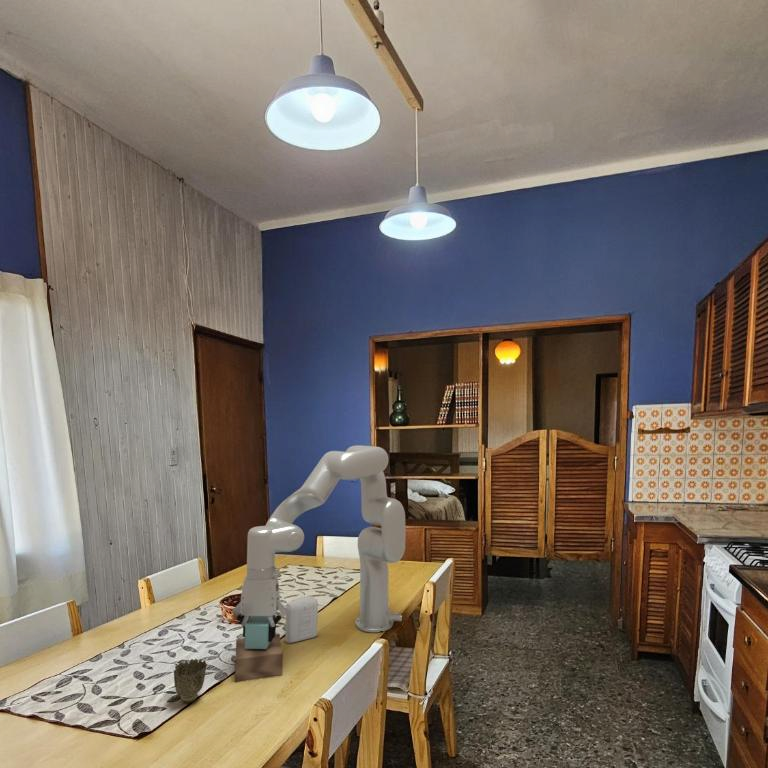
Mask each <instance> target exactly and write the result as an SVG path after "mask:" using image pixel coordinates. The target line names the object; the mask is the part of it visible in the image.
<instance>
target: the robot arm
mask: <svg viewBox="0 0 768 768" xmlns="http://www.w3.org/2000/svg"><path fill="white" fill-rule="evenodd" d="M388 464H389V455H388V453H387V451H386V450H385V449H384V448H382V447H380V446H373V445H372V446H371V445H352V446H349V447H348V448H347V449H346V450H345V451H339V450H331V451H328V452H326V453H325V454H324V455H323V456H322V457H321V458H320V460H319V461H318V463H317V464H316V465H315V467H314V468H313V470H312V471H311V473H310V474H309V476H308V477H307V478H306V480H305V481H304V483H303V485H302V486H300V488H299V489H297V490H296V491H295V492H293V493H292V494H291V495H289V496H287V498H286V499H284V500H283V501H282V502H281V503H280V504H279V505H278V506H277V507H276V508H275V510H274V512H273V513H271V515H270V517H269V519H268V520H267V522H266V524H265V525H260V526H259V525H258V526H254V527H252V528H250V529H249V530H248V532H247V548H246V549H247V551H246V552H247V554H246V576H245V577H244V578H243V579H244V580H243V582H242V583H243V584H242V588H241V595H240V602H238V604H237V605H236V606H235V607H234V608H232V611H231V613H232V615H234V617H236V619H237V620H238V621H239V623H240V624H241V626H242V628H243V629H242V637H243V638H244V641H245V625H246V624H247V623H248V621H249V620H250V619H251V618H252V616H259V617H268V620H269V623H270V627H269V639H268V641H269V642H271V641H272V640H273V638H274V637H275V635H276V634H277V631H276V629H277V624H278V623H279V622H280V621H281V620H282V619H283V617H284V616H285V617H286V614H287V612H288V610H287V609H286V607H285V605H284V604H283V603H282V602H281V597H280V584H279V578H278V575H279V574H280V573H281V572H280V571H281V570H280V568H278V567H276V564H275V561H276V559H275V557H276V555H275V554H276V553H289V552H290V553H291V552H293V551H297V550H298V549H300V548H301V546H303V543H304V540H305V534H304V531H303V529H302V528H300V527H299V526H298V525H296V524H293V523H294V521H295V520H296V519H297V518H298V517H300V516H301V515H302V514H303V513H305V512H307V511H309V510H311V509H315V508H317V507H319V506H321V505H324V504H325V503H326V501H327V500H328V498H329V496H330V495H331V494H332V492H333V490H334V489H335V487H336V486H337V484H338V482H339V481H340V480H345V481H353V480H358V479H359V480H360V487H361V515H362V516H361V517H362V519H363V520H364V521H365V522H366V523H369V524H371V525H375V526H369V527H365V528H364V529H362V530H361V532H360V533H359V534H358V538H357V551H358V557H359V564H360V565H359V566H360V567H359V569H360V570H359V572H360V573H359V575H360V576H359V577H360V578H359V616H358V617H356V619H355V620H354V621H355V622H354V625H355V628H357V629H358V630H360V631H362V632H365V633H381V632H380V631H383V632H386V631H388V630H390V629H391V628H392V627H394V621H395V622H402V621H403V614H399V612H392V611H391V610H390V607H389V564H390V563H391V564H394V563H395V564H396V563H398V562H399V561H400V560H401V559H402V558H403V556H404V554H405V551H406V512H405V509H404V506H403V504H402V503H401V501H399V500H397V499H396V498H392V497H388V494H387V493H388V492H387V481H386V476H385V473H384V471H385V469H387V467H388ZM376 526H379V527H376ZM277 574H278V575H277ZM278 610H279V612H280V613H279V614H278V615H277V616H276V614H277V611H278Z"/></svg>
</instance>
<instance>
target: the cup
mask: <svg viewBox="0 0 768 768" xmlns="http://www.w3.org/2000/svg"><path fill="white" fill-rule="evenodd" d="M202 660H203V659H201V658H200V659H199V660H198V659H197V658H195V659H194V658H191V659H190V661H188V660H187V659H186V660H185V661H184V662H180V661H179V662H178V664H176V665H175V668H174V670H173V679H174V688H175V691H176V693H177V695H178V696H180V700H181V702H182V703H183V704H191V703H193V702H194V701H196V699H197V698H198V693H199V692H200V691H201V690H202V688H203V686H204V683H205V677H206V670H207V669H206V668H207V666H208V665H207V662H206V660H205V659H204V660H203V661H202Z"/></svg>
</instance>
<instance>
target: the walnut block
mask: <svg viewBox="0 0 768 768" xmlns="http://www.w3.org/2000/svg"><path fill="white" fill-rule="evenodd" d="M235 640H236V641H235V667H234V668H235V672H234V674H235V675H234V677H235V678H234V682H235V683H239V682H247V680H248V681H254V679H255V680H260V678H262V679H267V678H268V677H269V678H275V676H276V677H282V676H283V663H284V662H283V648H282V647H283V646H282V641H281V635H280V633H276V635H275V637H274V638H273V640H272V641H271V643H270V644H269V646H268V648H267V649H245V641H244V637H243V638H236V639H235Z"/></svg>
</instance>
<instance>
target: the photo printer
mask: <svg viewBox="0 0 768 768" xmlns="http://www.w3.org/2000/svg"><path fill="white" fill-rule="evenodd" d="M318 605H319V604H318V598H316V597H315V596H309V595H307V596H306V595H305V596H299V597H296V598H295V599H294V598H293V599H292V600H290V601H288V602H287V603H286V605H285V606H286V607H285V608H286V609H287V610H288V612H287V614H286V615H285V637H284V639H285V642H286V643H287V644H292V643H296V642H300V641H304V640H309V639H312V638H315V637H317V636H318V616H319V615H318V614H319V613H318V611H319V610H318V609H319V608H318V607H319V606H318Z"/></svg>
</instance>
